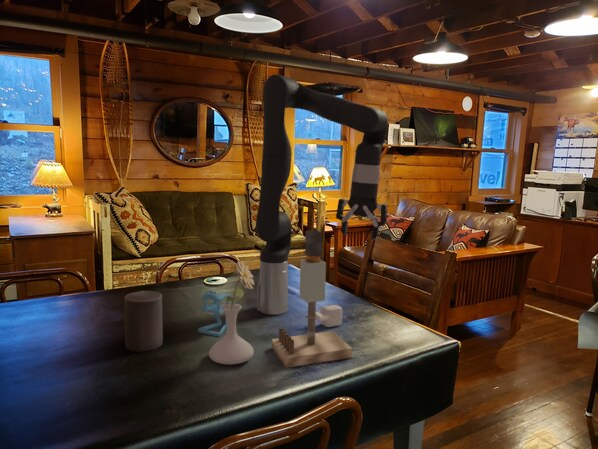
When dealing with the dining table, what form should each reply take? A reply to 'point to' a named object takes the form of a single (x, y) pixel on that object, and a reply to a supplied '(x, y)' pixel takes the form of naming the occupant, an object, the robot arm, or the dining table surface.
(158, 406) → the dining table surface
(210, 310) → the chair
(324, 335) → the post
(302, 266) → the square hollow tube
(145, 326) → the pillar candle
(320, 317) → the power adapter
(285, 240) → the robot arm
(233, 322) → the flower in vase
